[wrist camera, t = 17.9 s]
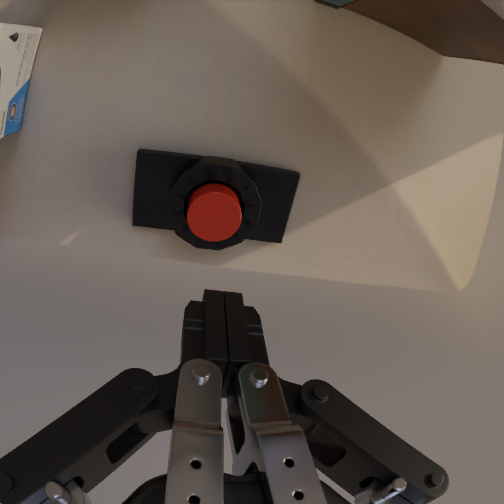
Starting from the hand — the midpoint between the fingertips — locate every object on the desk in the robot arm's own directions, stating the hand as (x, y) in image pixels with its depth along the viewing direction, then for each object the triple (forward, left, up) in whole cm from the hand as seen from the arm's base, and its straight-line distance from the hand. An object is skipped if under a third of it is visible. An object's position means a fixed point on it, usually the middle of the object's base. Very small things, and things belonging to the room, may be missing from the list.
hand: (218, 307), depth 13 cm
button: (0, 0, -11) cm, 11 cm away
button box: (0, 0, -13) cm, 13 cm away
